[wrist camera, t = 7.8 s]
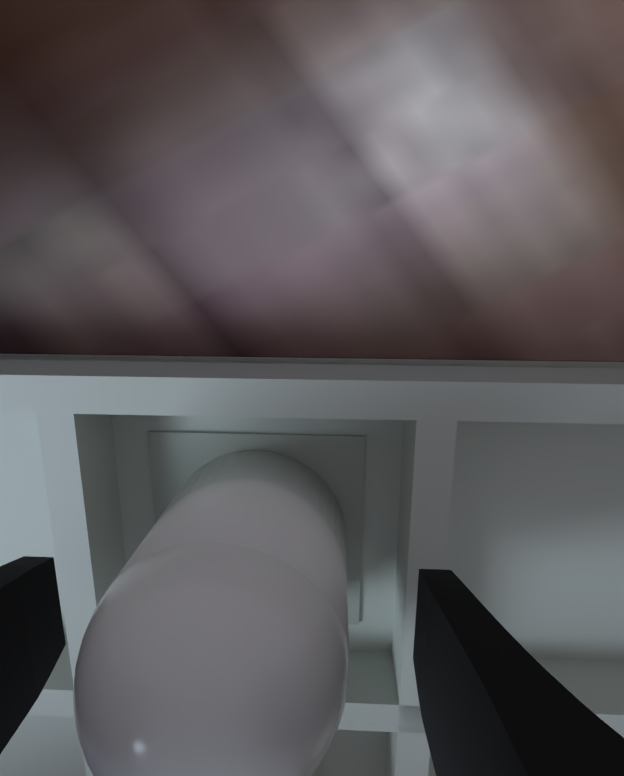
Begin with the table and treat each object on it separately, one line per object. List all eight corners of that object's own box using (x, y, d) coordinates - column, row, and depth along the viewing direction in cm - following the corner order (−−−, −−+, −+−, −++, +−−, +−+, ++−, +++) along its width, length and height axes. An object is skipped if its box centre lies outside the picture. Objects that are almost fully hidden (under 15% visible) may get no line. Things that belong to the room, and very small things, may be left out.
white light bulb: (343, 612, 12) (348, 936, 6) (176, 604, 13) (27, 912, 7) (347, 452, 11) (358, 658, 5) (165, 447, 12) (-24, 640, 5)
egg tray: (647, 868, 15) (703, 977, 13) (-84, 826, 16) (-154, 919, 14) (768, 363, 11) (881, 388, 9) (-207, 350, 12) (-333, 369, 10)
